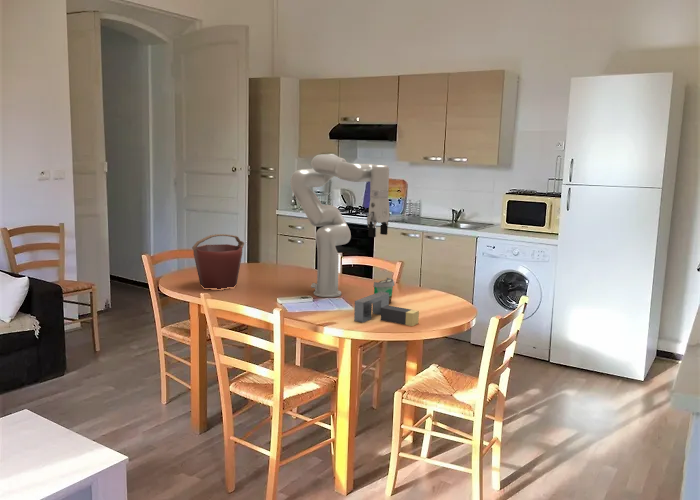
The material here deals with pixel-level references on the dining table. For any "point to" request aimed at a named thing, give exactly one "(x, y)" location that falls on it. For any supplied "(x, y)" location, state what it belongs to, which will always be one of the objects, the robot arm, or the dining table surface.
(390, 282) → the food container
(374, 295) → the housing
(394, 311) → the rod
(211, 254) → the bucket
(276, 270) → the dining table surface
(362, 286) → the dining table surface
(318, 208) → the robot arm
